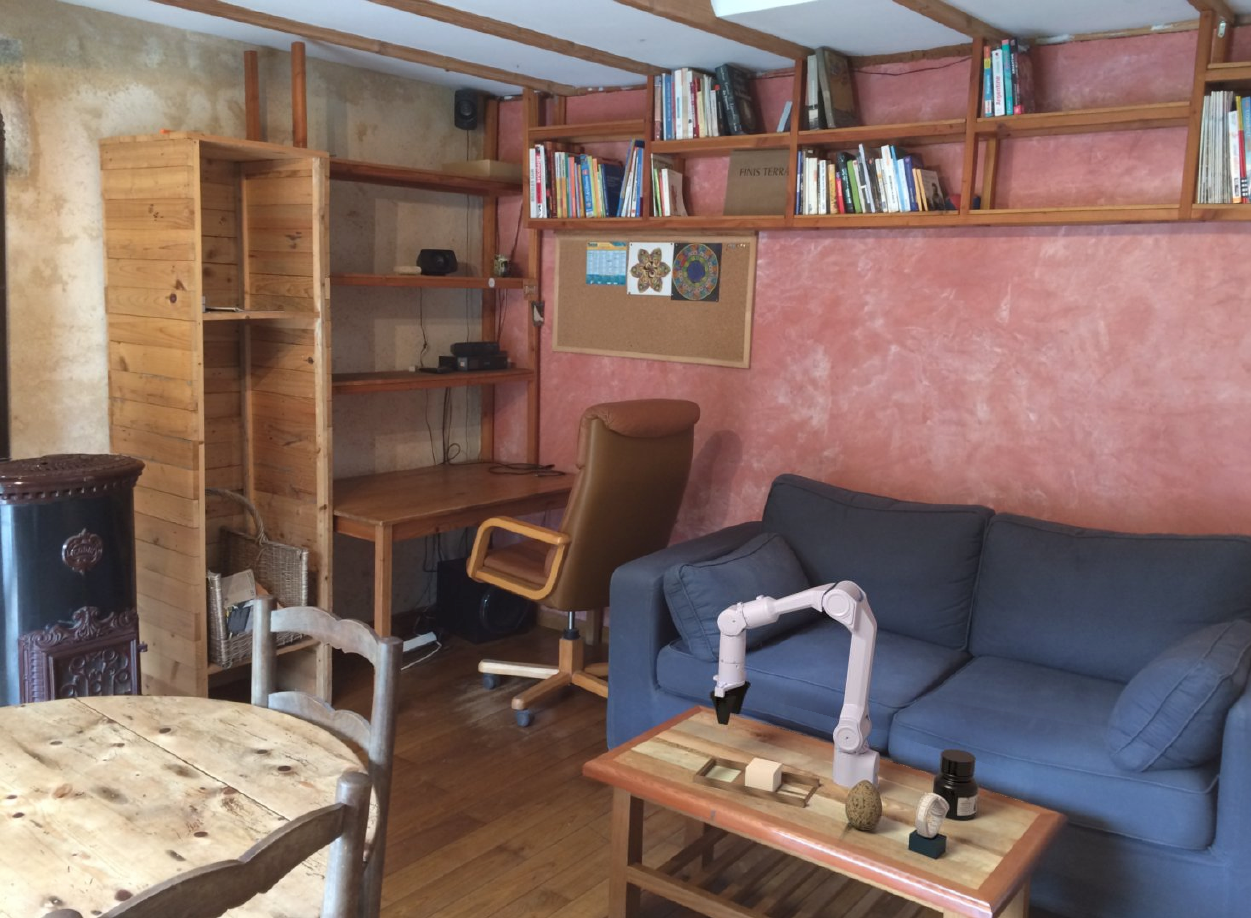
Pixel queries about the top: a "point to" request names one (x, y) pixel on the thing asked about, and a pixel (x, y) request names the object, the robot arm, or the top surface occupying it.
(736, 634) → the robot arm
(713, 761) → the box
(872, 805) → the decorative egg
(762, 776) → the ivory block
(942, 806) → the watch
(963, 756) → the ink bottle
